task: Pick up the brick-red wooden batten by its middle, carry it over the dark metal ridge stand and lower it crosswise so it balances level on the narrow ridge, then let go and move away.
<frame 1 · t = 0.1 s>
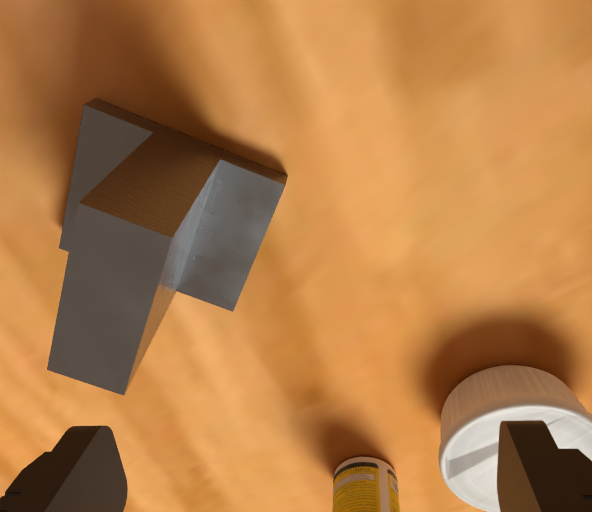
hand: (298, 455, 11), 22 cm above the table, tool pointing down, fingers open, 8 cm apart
supplement bottle: (364, 473, 45), on the table
ridge stand: (172, 208, 33), on the table
ramekin: (503, 405, 40), on the table
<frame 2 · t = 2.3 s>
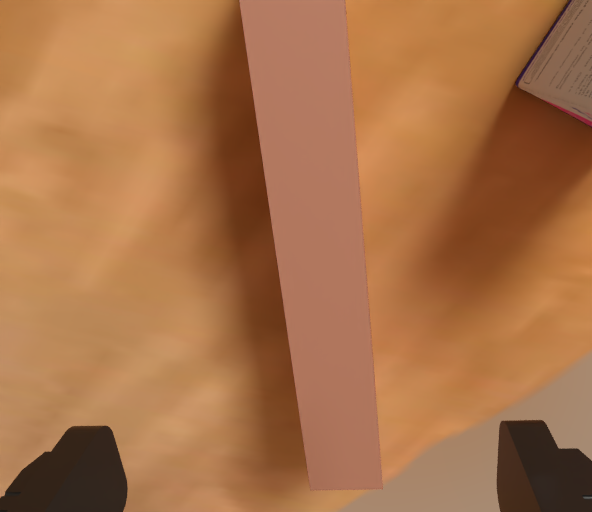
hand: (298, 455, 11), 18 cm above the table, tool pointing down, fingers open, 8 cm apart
batten: (327, 209, 27), on the table
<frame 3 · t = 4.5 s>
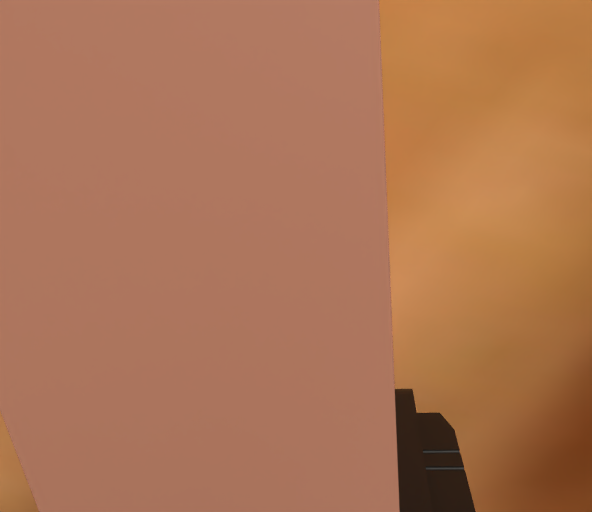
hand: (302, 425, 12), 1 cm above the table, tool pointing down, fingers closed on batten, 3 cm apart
batten: (308, 389, 13), on the table, touching gripper
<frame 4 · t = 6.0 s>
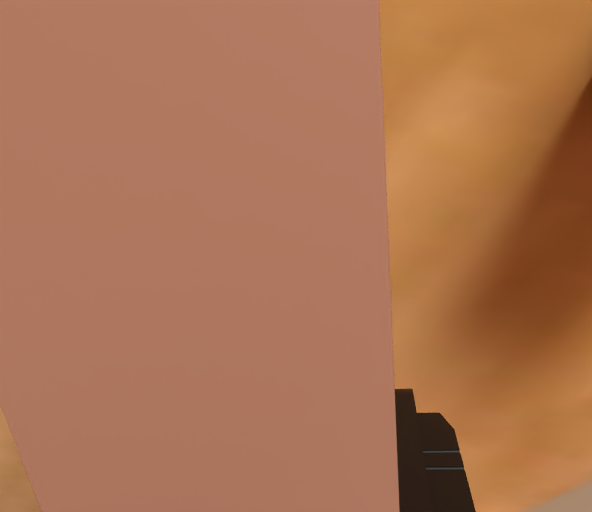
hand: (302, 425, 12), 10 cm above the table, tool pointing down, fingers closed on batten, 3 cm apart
batten: (308, 389, 13), point 9 cm above the table, touching gripper
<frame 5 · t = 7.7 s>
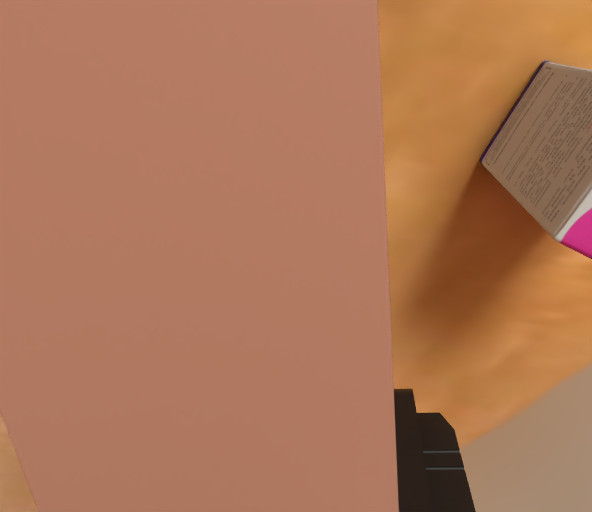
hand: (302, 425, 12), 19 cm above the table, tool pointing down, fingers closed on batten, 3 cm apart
supplement box: (554, 138, 27), on the table
batten: (308, 390, 13), point 18 cm above the table, touching gripper
when the fingers open (13 cm above the table, at t = 11.1 s): batten stays where it is, resting on ridge stand.
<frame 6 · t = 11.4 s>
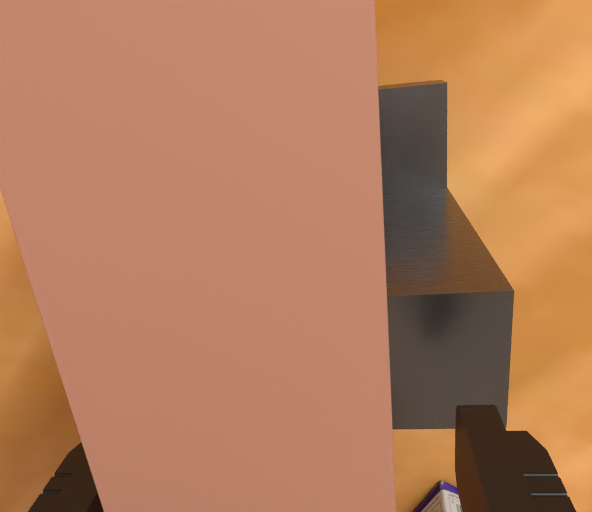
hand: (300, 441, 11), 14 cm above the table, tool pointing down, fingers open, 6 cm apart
batten: (311, 369, 14), point 11 cm above the table, touching ridge stand
ridge stand: (328, 229, 24), on the table
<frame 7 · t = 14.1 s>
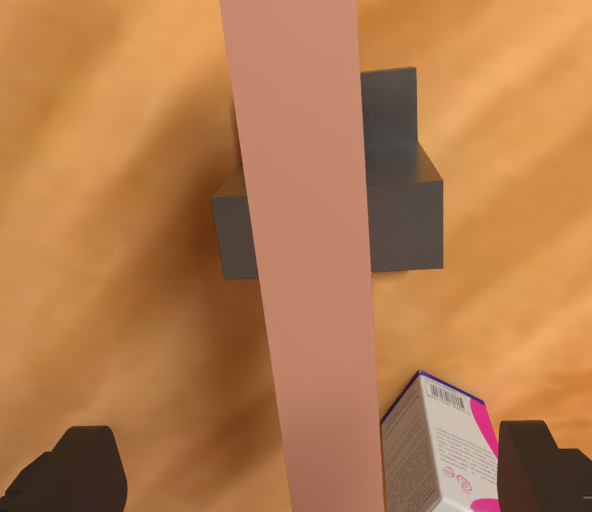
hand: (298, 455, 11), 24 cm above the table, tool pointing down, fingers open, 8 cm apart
supplement box: (431, 410, 40), on the table
batten: (327, 233, 23), point 11 cm above the table, touching ridge stand
ridge stand: (335, 174, 33), on the table
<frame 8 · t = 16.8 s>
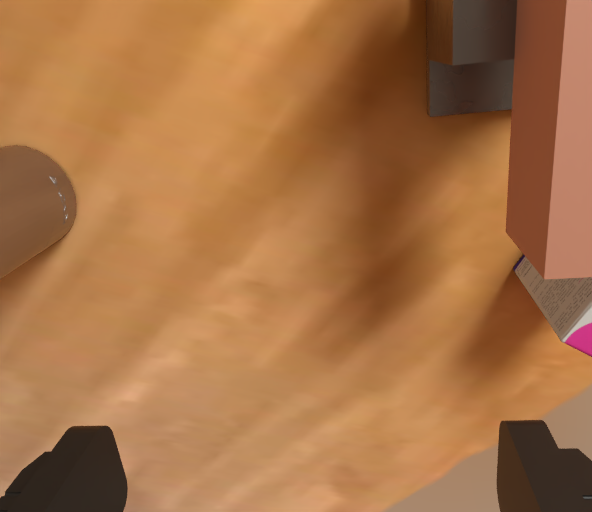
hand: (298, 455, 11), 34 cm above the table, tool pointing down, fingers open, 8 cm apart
supplement box: (559, 257, 44), on the table
batten: (550, 15, 27), point 11 cm above the table, touching ridge stand
ridge stand: (497, 22, 38), on the table
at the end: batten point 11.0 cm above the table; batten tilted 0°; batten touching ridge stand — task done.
